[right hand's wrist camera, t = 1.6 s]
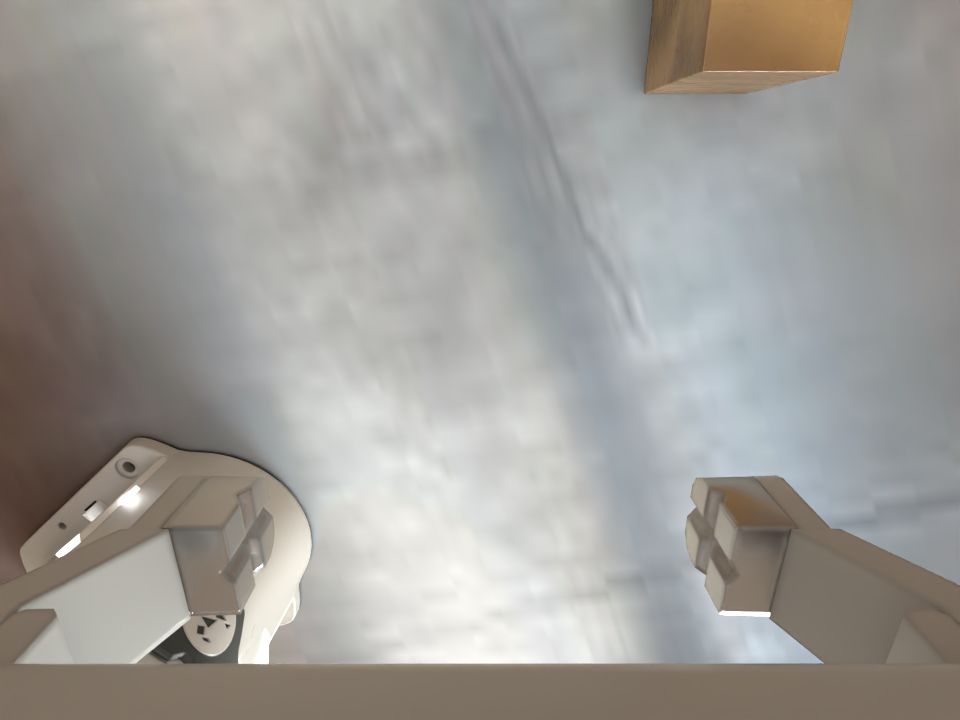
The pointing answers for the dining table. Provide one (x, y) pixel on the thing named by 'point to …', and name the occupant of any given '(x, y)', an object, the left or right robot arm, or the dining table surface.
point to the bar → (742, 44)
